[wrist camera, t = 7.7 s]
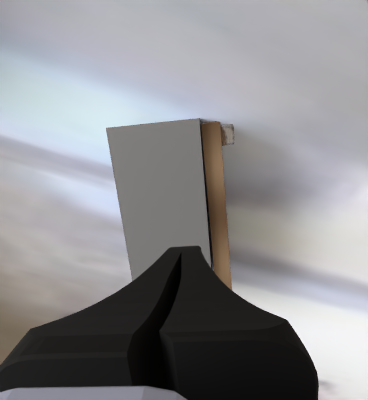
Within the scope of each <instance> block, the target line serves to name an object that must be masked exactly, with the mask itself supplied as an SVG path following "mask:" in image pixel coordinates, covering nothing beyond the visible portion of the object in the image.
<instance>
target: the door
mask: <svg viewBox="0 0 368 400" xmlns="http://www.w3.org/2000/svg"><path fill="white" fill-rule="evenodd" d="M201 128H202V139H203V150H204V161H205V173H206V184H207V195H208V206H209V218H210V229H211V240H212V251H213V263H214V273H215V274H216V275H217V276H218V277H219V278H220V280H221V281H222V282H223V283H224V284H225V285H226V286H227V287H228V288H230V289H231V290H232V287H231V272H230V258H229V244H228V230H227V215H226V201H225V187H224V172H223V158H222V146H225V145H234V128H233V124H226V125H220V122H217V121H214V122H205V123H201Z"/></svg>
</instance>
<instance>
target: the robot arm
mask: <svg viewBox="0 0 368 400" xmlns="http://www.w3.org/2000/svg"><path fill="white" fill-rule="evenodd" d="M318 388H319V384H318V376H317V371H316V369H315V366H314V364H313V361H312V359H311V357H310V355H309V353H308V352H307V350H306V348H305V346H304V345H303V343H302V341H301V340H300V338H299V337H298V335H297V334H296V332H295V331H294V329H293V328H292V326H291V325H290V323H289V322H288V321H287V320H286V319H283V318H281V317H279V316H276V315H274V314H271V313H269V312H267V311H264V310H262V309H260V308H258V307H256V306H255V305H253V304H251V303H249V302H248V301H246V300H244V299H243V298H241V297H240V296H239V295H237V294H236V293H234V292H233V291H232V290H231V289H230V288H228V287H227V286H226V285H225V284H224V283H223V282H222V281H221V280H220V278H219V277H218V276H217V275H216V274H215V273H214V271H213V270H212V269H211V267H210V266H209V264H208V263H207V261H206V259H205V258H204V256H203V254H202V251H201V247H200V246H181V247H170V248H168V249H167V250H166V251H165V252H164V253H163V254H162V255H161V256H160V257H159V258H158V259H157V260H156V261H155V262H154V263H153V264H152V265H151V266H150V267H149V268H148V269H147V270H146V271H144V272H143V273H142V274H141V275H140V276H138V277H137V278H136V279H135V280H134V281H132V282H131V283H129V284H128V285H127V286H125V287H124V288H122V289H121V290H119V291H118V292H116V293H114V294H112V295H111V296H109V297H107V298H105V299H103V300H102V301H100V302H98V303H96V304H94V305H92V306H90V307H88V308H86V309H84V310H81V311H79V312H77V313H74V314H72V315H69V316H67V317H64V318H62V319H59V320H56V321H53V322H50V323H47V324H44V325H41V326H38V327H35V328H32V329H30V330H29V331H28V332H27V333H26V335H25V336H24V337H23V338H22V340H21V341H20V342H19V343H18V344H17V346H16V347H15V348H14V349H13V350H12V352H11V353H10V354H9V355H8V357H7V358H6V359H5V360H4V361H3V363H2V364H1V365H0V400H318Z"/></svg>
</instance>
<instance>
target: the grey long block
mask: <svg viewBox="0 0 368 400" xmlns="http://www.w3.org/2000/svg"><path fill="white" fill-rule="evenodd" d="M106 132H107V137H108V143H109V149H110V155H111V160H112V166H113V172H114V178H115V183H116V189H117V195H118V201H119V206H120V212H121V218H122V224H123V229H124V235H125V241H126V247H127V252H128V258H129V264H130V270H131V275H132V281H134V280H135V279H136V278H137V277H138V276H140V275H141V274H142V273H143V272H144V271H146V270H147V269H148V268H149V267H150V266H151V265H152V264H153V263H154V262H155V261H156V260H157V259H158V258H159V257H160V256H161V255H162V254H163V253H164V252H165V251H166V250H167V249H168V248H170V247H181V246H200V247H201V251H202V254H203V256H204V258H205V259H206V261H207V263H208V264H209V266H210V267H211V269H212V263H211V250H210V238H209V225H208V212H207V200H206V187H205V174H204V162H203V149H202V137H201V124H200V118H198V119H188V120H178V121H169V122H159V123H149V124H140V125H130V126H121V127H111V128H106Z"/></svg>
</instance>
